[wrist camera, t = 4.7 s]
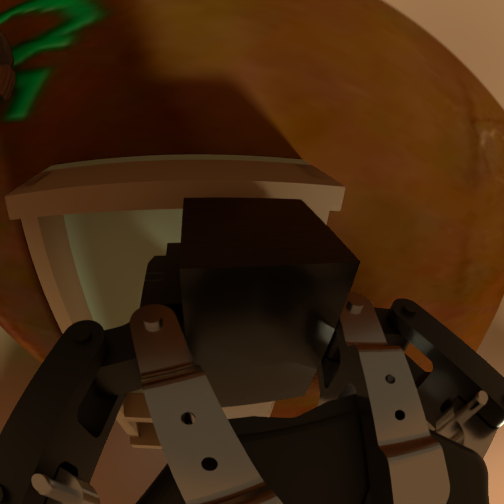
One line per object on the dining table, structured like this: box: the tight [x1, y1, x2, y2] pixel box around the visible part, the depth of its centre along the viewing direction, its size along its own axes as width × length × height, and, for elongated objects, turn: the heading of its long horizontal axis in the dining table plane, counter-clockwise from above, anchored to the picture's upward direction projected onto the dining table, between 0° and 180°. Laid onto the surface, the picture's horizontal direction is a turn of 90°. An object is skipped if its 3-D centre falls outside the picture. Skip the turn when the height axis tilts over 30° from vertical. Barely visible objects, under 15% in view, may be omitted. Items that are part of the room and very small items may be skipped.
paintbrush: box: [180, 197, 360, 419], centre depth 18 cm, size 4×33×9 cm, turn 174°
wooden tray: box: [5, 154, 346, 449], centre depth 17 cm, size 16×30×12 cm, turn 174°
